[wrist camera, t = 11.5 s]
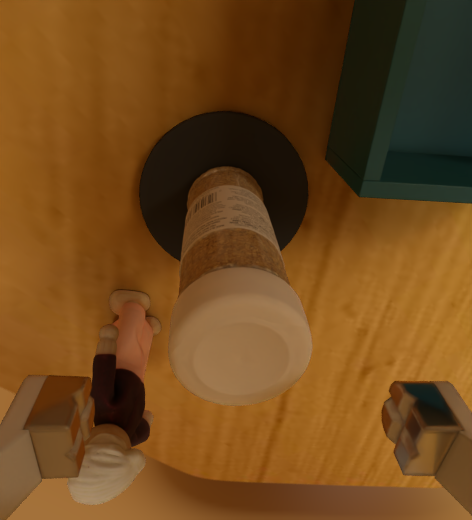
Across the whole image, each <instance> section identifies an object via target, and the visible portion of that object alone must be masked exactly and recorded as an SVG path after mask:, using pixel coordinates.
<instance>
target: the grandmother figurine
mask: <svg viewBox="0 0 472 520" xmlns="http://www.w3.org/2000/svg"><path fill="white" fill-rule="evenodd" d="M109 305H110V308H111V310H112V311H113V312H114V313H115V314H117V315H119V319H118V320H116V321H115V322H114V323H113V324H107V325H105V326H103V327H102V328H101V329H100V332H99V337H100V341H99V342H98V345H97V350H96V355H95V357H94V361H93V378H92V389H91V393H90V396H91V397H92V398H93V399H94V404H95V415H94V424H95V427H93V428H92V431H91V435H90V437H89V438H88V439H87V440H86V441H85V442H84V446H85V456H84V459H83V462H82V466H81V469H80V473H79V476H78V477H77V478H68V482H67V485H68V488H69V491H70V493H71V495H72V497H73V499H74V500H75V501H77V502H79V503H82V504H90V505H95V504H101V503H104V502H107V501H109V500H111V499H113V498H115V497H116V496H117V495H119V494H120V493H122V492H123V491H124V490H125V489H126V488H127V487H128V486H129V485H130V484H131V483H132V482H133V481H134V479H135V477H136V475H137V474H138V473H139V472H140V471H141V470H142V469H143V467H144V466H145V463H146V459H145V456H144V454H143V452H142V451H141V450H139V449H135V448H134V449H131V447H133V446H136V445H138V444H140V443H142V442H144V441H146V440H147V439H148V437H149V434H150V426H151V424H152V422H153V415H152V413H151V412H150V411H148V410H144V408H145V388H144V384H143V381H144V375H145V371H146V365H147V361H148V357H149V351H150V347H151V344H152V339H153V336H154V335H156V334H158V333H159V332H160V331H161V324H160V322H159V320H158V319H156V318H155V317H151V316H150V317H145V311H146V310H148V308H149V307H150V298H149V296H148V295H146V294H145V293H142V292H136V291H129V290H117V291H114V292H113V293H112V294H111V295H110V298H109Z"/></svg>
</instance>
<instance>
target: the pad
mask: <svg viewBox="0 0 472 520" xmlns="http://www.w3.org/2000/svg"><path fill="white" fill-rule="evenodd" d="M221 166H226V167H228V166H229V167H235V168H240V169H242V170H244V171H245V172H247V173H249V174H250V175H251V176H252V177H253V178H254V179H255V180H256V182H257V184H258V185H259V186H260V188H261V191H262V196H263V203H264V206H265V207H266V209H267V212H268V215H269V218H270V221H271V224H272V227H273V230H274V233H275V236H276V240H277V242H278V246H279V249H280V251H281V250H282V249H283V248H284V247H285V246H286V245H287V244H288V243H289V242H290V241H291V239H292V238H293V237H294V235H295V234H296V232H297V230H298V229H299V227H300V225H301V223H302V220H303V218H304V215H305V211H306V207H307V200H308V183H307V177H306V172H305V169H304V166H303V163H302V161H301V159H300V157H299V155H298V153H297V152H296V150H295V149H294V147H293V146H292V144H291V143H290V142H289V141H288V139H287V138H286V137H285V136H284V135H283V134H282V133H281V132H279V131H278V130H277V129H276V128H275V127H273V126H272V125H270V124H268V123H267V122H265V121H263V120H261V119H259V118H256V117H254V116H251V115H247V114H244V113H238V112H231V111H217V112H210V113H205V114H201V115H197V116H194V117H192V118H190V119H187V120H185V121H183V122H181V123H180V124H178V125H177V126H175V127H173V128H172V129H171V130H170V131H169V132H167V133H166V134H165V135H164V136H163V137H162V138H161V139H160V140H159V142H158V143H157V144H156V145H155V147H154V148H153V150H152V151H151V153H150V155H149V157H148V159H147V161H146V163H145V166H144V169H143V172H142V175H141V181H140V193H139V197H140V206H141V210H142V214H143V217H144V220H145V222H146V225H147V227H148V229H149V231H150V232H151V234H152V236H153V237H154V238H155V240H156V241H157V242H158V244H159V245H160V246H161V247H162V248H163V249H164V250H165V251H167V252H168V253H169V254H170V255H172V256H173V257H174V258H176V259H178V260H179V261H180V260H181V252H182V243H183V235H184V228H185V220H186V215H187V212H188V209H187V201H188V194H189V191H190V189H191V187H192V185H193V183H194V182H195V180H196V179H197V178H199V177H200V176H201V175H202V174H203V173H205V172H207V171H208V170H210V169H213V168H216V167H221Z"/></svg>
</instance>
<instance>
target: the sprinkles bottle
mask: <svg viewBox="0 0 472 520" xmlns="http://www.w3.org/2000/svg"><path fill="white" fill-rule="evenodd" d="M187 209H188V212H187V215H186V220H185V228H184V235H183V243H182V252H181V260H180V271H179V275H180V288H179V296H178V299H177V301H176V303H175V305H174V308H173V311H172V316H171V323H170V332H169V346H168V355H169V361H170V365H171V368H172V370H173V373H174V375H175V376H176V378H177V379H178V380H179V382H180V383H181V384H182V385H183V386H184V387H185V388H186V389H187V390H188V391H190V392H191V393H193V394H194V395H196V396H198V397H200V398H202V399H204V400H206V401H209V402H213V403H216V404H222V405H230V406H242V405H251V404H256V403H260V402H264V401H267V400H269V399H272V398H274V397H276V396H278V395H280V394H282V393H283V392H285V391H286V390H288V389H289V388H290V387H292V386H293V385H294V384H295V383H296V382H297V381H298V380H299V379H300V377H301V376H302V375H303V373H304V372H305V370H306V368H307V366H308V364H309V361H310V358H311V353H312V337H311V332H310V329H309V325H308V322H307V318H306V315H305V312H304V309H303V306H302V304H301V301H300V299H299V297H298V295H297V294H296V292H295V291H294V290H293V289H292V287H291V286H290V283H289V281H288V277H287V275H286V271H285V266H284V262H283V258H282V255H281V252H280V249H279V246H278V242H277V240H276V236H275V233H274V230H273V227H272V224H271V221H270V218H269V215H268V212H267V209H266V207H265V206H264V203H263V196H262V191H261V188H260V186H259V185H258V184H257V182H256V180H255V179H254V178H253V177H252V176H251V175H250V174H249V173H247V172H245V171H244V170H242V169H240V168H235V167H229V166H228V167H226V166H221V167H216V168H213V169H210V170H208V171H207V172H205V173H203V174H202V175H201V176H200V177H199V178H197V179H196V180H195V182H194V183H193V185H192V187H191V189H190V191H189V194H188V201H187Z"/></svg>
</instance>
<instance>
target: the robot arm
mask: <svg viewBox="0 0 472 520" xmlns="http://www.w3.org/2000/svg"><path fill="white" fill-rule="evenodd" d="M91 389H92V383H91V378H90V377H79V376H54V375H49V376H45V375H28V376H27V377H26V378H25V379H24V380H23V382H22V384H21V386H20V388H19V390H18V392H17V394H16V396H15V398H14V400H13V401H12V403H11V405H10V407H9V409H8V411H7V413H6V415H5V417H4V418H3V420H2V423H1V424H0V520H6V519H7V518H8V517H9V516H10V515H11V514H12V513H13V512H14V511H15V510H16V509H17V508H18V506H19V505H20V504H21V503H22V502H23V501H24V500H25V499H26V498H27V497H28V496H29V495H30V493H31V492H32V491H33V490H34V489H35V488H36V487H37V486H38V485H39V484H40V483H41V481H42V479H46V478H77V477H78V476H79V473H80V469H81V466H82V462H83V459H84V456H85V446H84V442H85V441H86V440H87V439H88V438H89V437H90V435H91V431H92V428H93V422H94V415H95V404H94V399H93V398H92V397H91V396H90V393H91ZM389 392H390V394H391V397H390V398H389V399H388V400H386V401H385V402H384V405H383V408H382V424H383V428H384V431H385V433H386V436H387V437H388V438H389V439H390V440H391V441H392V442H393V443H395V444H396V445H395V448H394V454H395V457H396V459H397V461H398V464H399V466H400V468H401V470H402V473H403V475H412V476H435V479H436V480H437V481H438V482H439V483H440V484H441V485H442V486H443V487H444V488H445V489H446V490H447V491H448V492H449V493H450V494H451V495H452V496H453V497H454V498H455V499H456V500H457V501H458V502H459V503H460V504H461V505H462V506H463V507H464V508H465V509H466V510H467V511H468V512H469V513H470V514H471V515H472V412H471V411H470V410H469V408H468V407H467V405H466V404H465V402H464V401H463V399H462V398H461V396H460V395H459V393H458V392H457V390H456V389H455V388H454V386H453V385H452V384H451V383H450V382H448V381H430V382H429V381H394V382H393V383H392V384H391V386H390V389H389Z"/></svg>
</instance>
